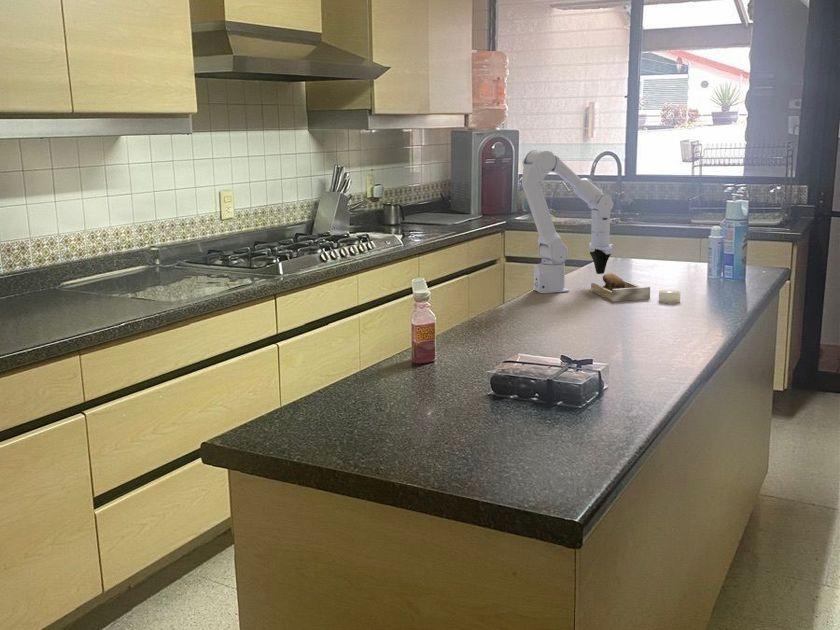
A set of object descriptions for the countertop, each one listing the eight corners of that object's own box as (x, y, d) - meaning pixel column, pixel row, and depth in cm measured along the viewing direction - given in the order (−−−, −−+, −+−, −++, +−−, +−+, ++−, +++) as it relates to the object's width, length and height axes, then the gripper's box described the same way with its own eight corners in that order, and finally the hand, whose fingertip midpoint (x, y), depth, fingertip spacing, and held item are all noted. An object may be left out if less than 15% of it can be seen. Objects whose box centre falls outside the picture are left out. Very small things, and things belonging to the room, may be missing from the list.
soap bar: (664, 304, 246) (664, 294, 245) (655, 300, 251) (655, 290, 251) (683, 302, 247) (684, 292, 246) (674, 299, 252) (674, 289, 252)
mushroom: (593, 283, 263) (605, 266, 262) (599, 288, 270) (611, 272, 269) (613, 297, 259) (626, 281, 258) (619, 302, 266) (631, 286, 265)
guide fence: (613, 301, 251) (613, 289, 250) (591, 291, 267) (591, 280, 267) (649, 298, 253) (650, 287, 252) (625, 288, 269) (626, 277, 269)
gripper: (621, 233, 265) (621, 276, 268) (603, 228, 279) (603, 269, 282) (600, 234, 264) (600, 277, 267) (582, 229, 278) (582, 270, 281)
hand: (600, 273), depth 274 cm, fingers closed
